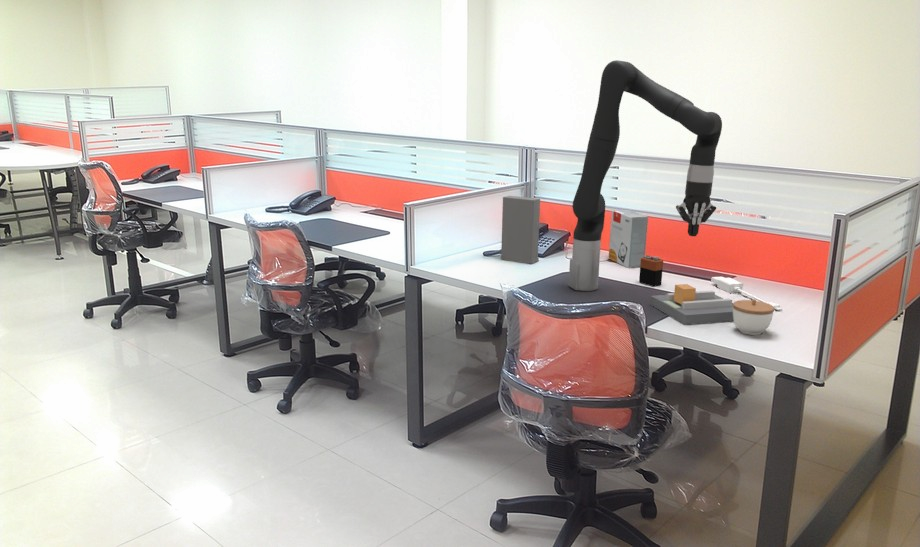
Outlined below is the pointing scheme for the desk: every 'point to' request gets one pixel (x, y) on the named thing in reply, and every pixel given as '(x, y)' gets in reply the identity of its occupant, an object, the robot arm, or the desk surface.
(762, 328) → the lidded jar
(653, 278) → the battery
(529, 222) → the tall grey upright block
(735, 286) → the charging cable
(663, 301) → the tray
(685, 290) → the handle
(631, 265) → the hard drive box
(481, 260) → the desk surface
